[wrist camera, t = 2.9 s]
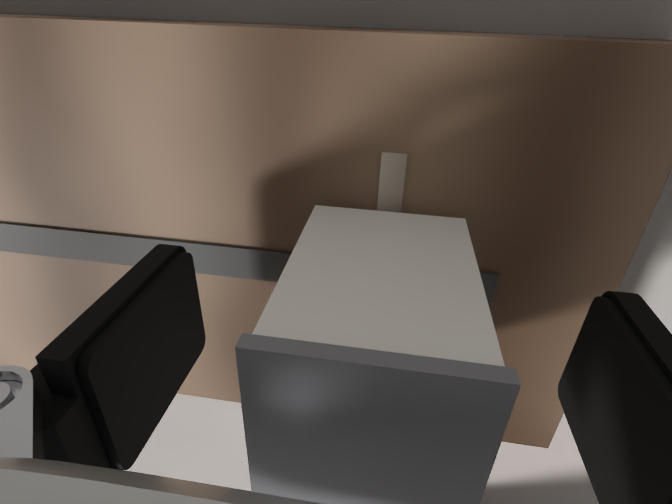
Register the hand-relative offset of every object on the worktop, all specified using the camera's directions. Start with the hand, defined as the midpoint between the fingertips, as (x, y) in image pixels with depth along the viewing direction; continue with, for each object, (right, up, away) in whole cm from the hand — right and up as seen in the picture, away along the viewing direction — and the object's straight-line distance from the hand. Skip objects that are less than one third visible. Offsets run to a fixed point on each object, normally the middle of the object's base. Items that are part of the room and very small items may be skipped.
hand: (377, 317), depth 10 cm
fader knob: (0, +1, +1) cm, 1 cm away
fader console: (-8, +3, +4) cm, 10 cm away
